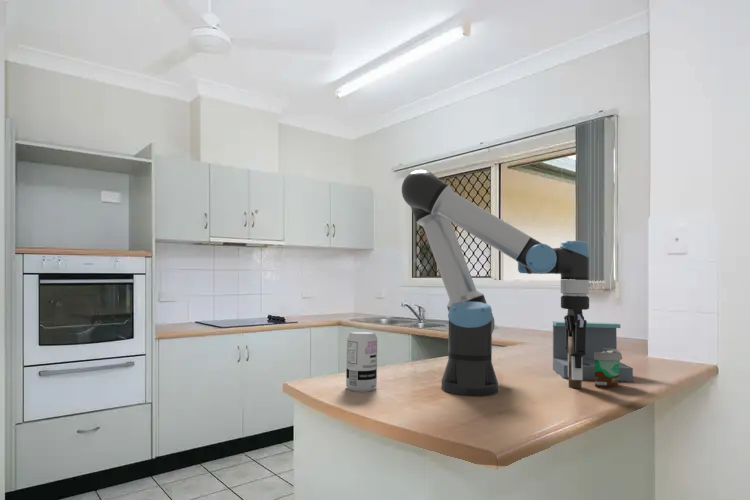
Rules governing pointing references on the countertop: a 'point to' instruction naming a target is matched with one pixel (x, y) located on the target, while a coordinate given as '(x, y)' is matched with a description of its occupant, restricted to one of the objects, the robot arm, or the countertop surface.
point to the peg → (572, 383)
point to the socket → (587, 349)
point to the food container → (607, 368)
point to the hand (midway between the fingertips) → (575, 378)
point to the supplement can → (361, 361)
